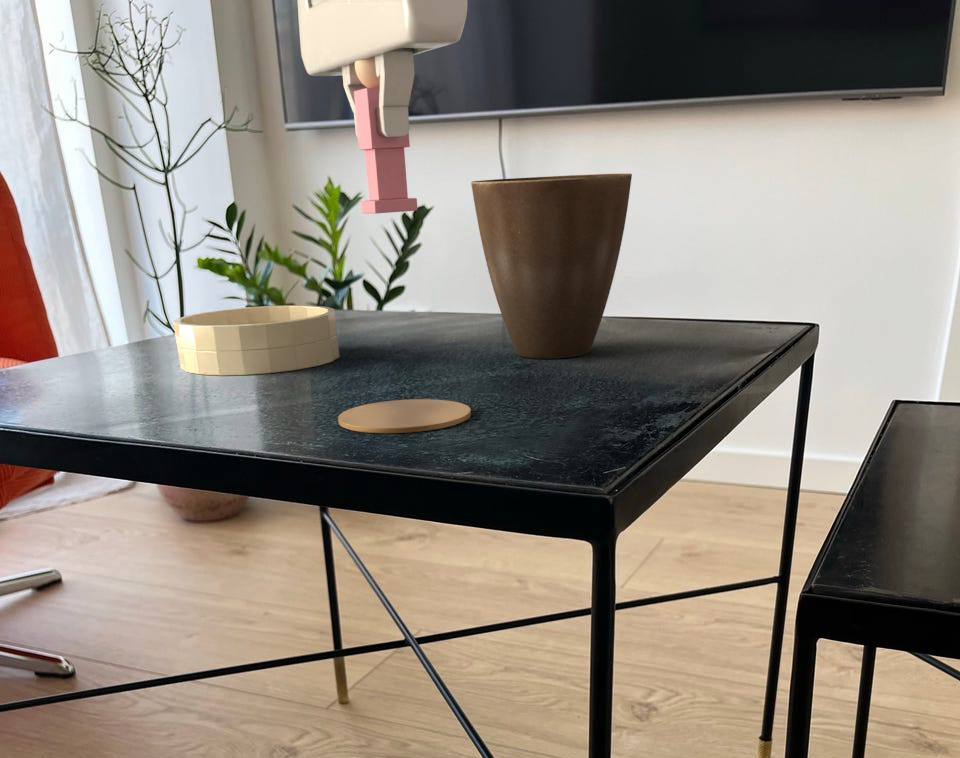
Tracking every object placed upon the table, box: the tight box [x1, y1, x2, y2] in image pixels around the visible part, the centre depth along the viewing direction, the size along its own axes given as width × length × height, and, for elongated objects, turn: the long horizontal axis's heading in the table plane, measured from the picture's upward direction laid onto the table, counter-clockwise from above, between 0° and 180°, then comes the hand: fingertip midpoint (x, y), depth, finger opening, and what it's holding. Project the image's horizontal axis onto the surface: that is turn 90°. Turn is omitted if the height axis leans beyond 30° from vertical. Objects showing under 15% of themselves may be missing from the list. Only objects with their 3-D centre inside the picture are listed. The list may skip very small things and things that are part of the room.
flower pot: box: [470, 173, 633, 360], centre depth 97 cm, size 15×15×16 cm
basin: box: [172, 304, 340, 376], centre depth 100 cm, size 15×15×5 cm
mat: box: [337, 398, 472, 434], centre depth 76 cm, size 10×10×1 cm
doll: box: [354, 56, 418, 214], centre depth 69 cm, size 3×3×10 cm
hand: (382, 139), depth 69 cm, fingers closed on doll, 2 cm apart
